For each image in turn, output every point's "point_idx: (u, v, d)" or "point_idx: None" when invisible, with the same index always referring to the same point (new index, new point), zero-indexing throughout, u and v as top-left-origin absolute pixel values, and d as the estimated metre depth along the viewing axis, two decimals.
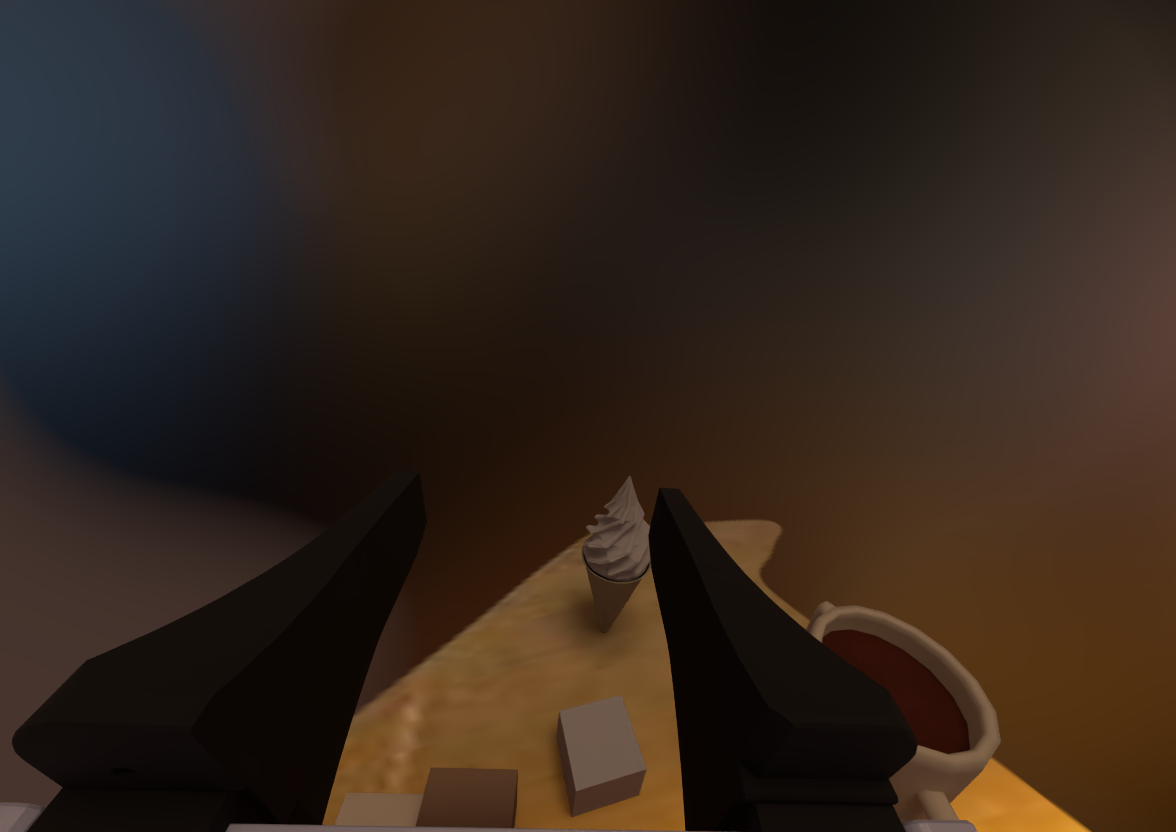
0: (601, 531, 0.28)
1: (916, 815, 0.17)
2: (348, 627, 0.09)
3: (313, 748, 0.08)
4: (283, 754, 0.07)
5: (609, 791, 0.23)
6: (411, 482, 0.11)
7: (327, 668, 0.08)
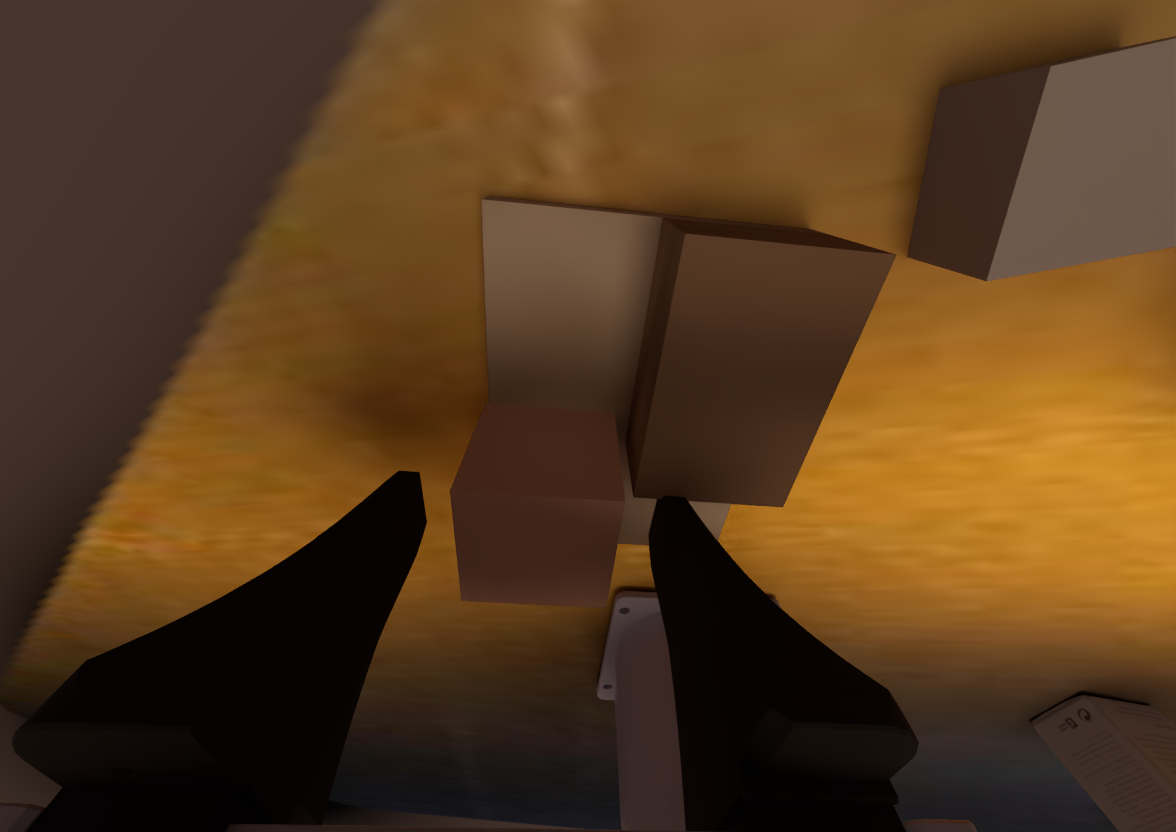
0: None
1: None
2: (348, 627, 0.09)
3: (313, 748, 0.08)
4: (283, 754, 0.07)
5: None
6: (411, 482, 0.11)
7: (327, 669, 0.08)
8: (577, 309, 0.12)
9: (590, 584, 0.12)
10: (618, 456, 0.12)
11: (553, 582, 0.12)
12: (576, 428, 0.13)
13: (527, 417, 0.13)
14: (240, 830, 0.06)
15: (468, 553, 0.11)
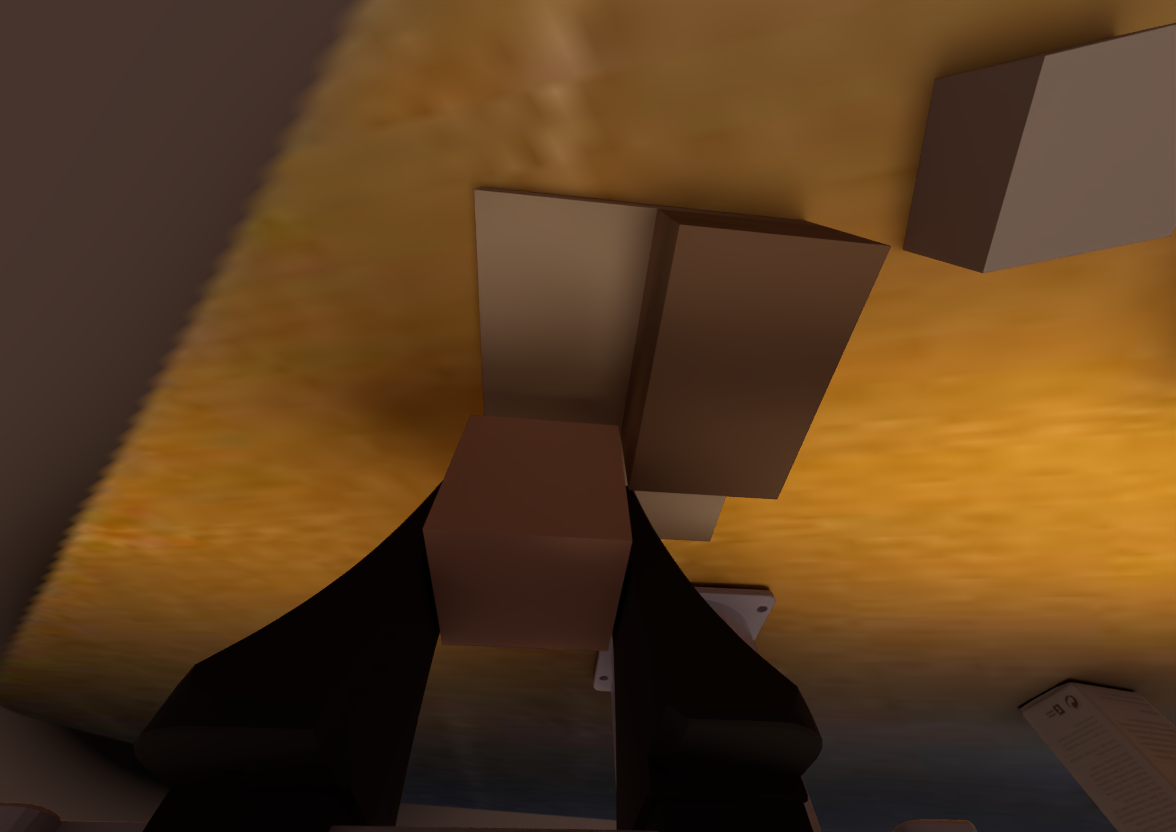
0: None
1: None
2: (417, 630, 0.09)
3: (391, 750, 0.08)
4: (372, 756, 0.07)
5: None
6: None
7: (402, 672, 0.08)
8: (571, 301, 0.12)
9: (590, 627, 0.10)
10: (623, 481, 0.10)
11: (547, 626, 0.10)
12: (574, 445, 0.11)
13: (517, 433, 0.11)
14: (341, 831, 0.06)
15: (447, 596, 0.09)
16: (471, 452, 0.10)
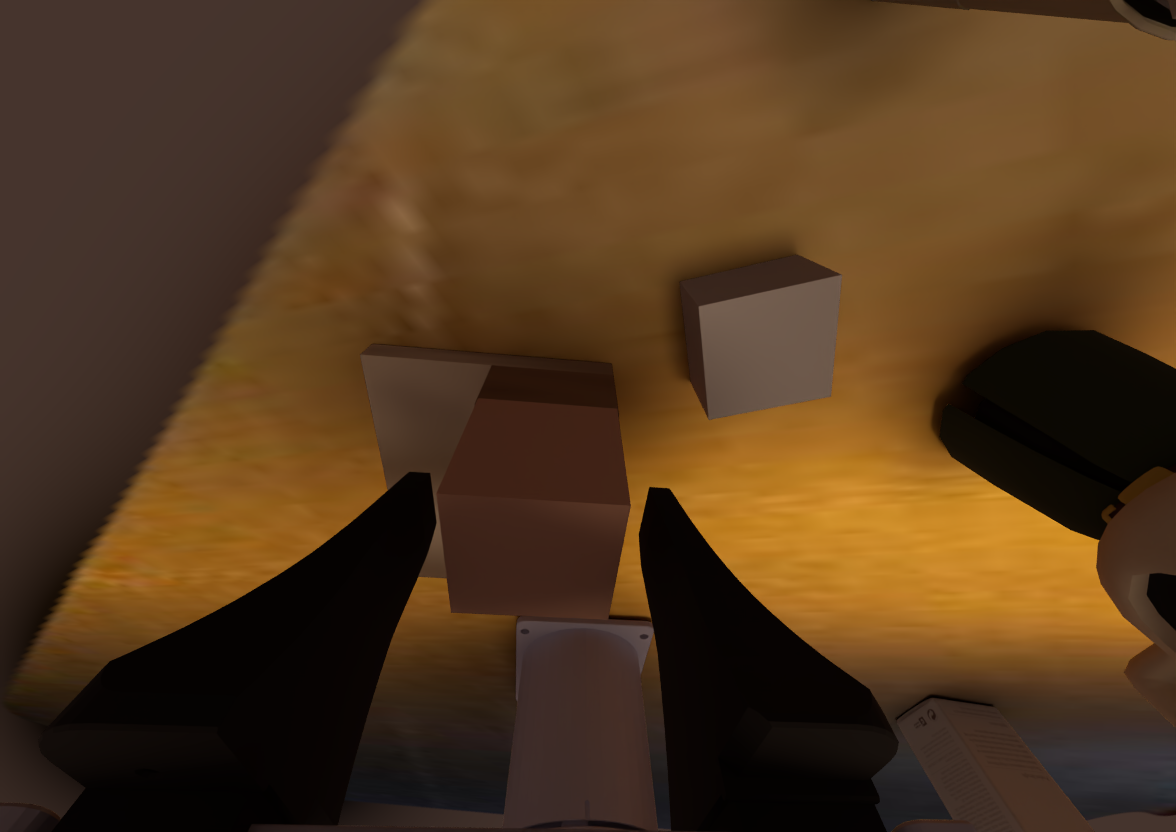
0: None
1: None
2: (363, 628, 0.09)
3: (330, 748, 0.08)
4: (302, 755, 0.07)
5: None
6: (422, 483, 0.11)
7: (343, 669, 0.08)
8: (441, 421, 0.16)
9: (591, 594, 0.11)
10: (622, 455, 0.11)
11: (551, 592, 0.11)
12: (576, 425, 0.12)
13: (522, 413, 0.12)
14: (262, 830, 0.06)
15: (457, 562, 0.10)
16: (479, 430, 0.11)
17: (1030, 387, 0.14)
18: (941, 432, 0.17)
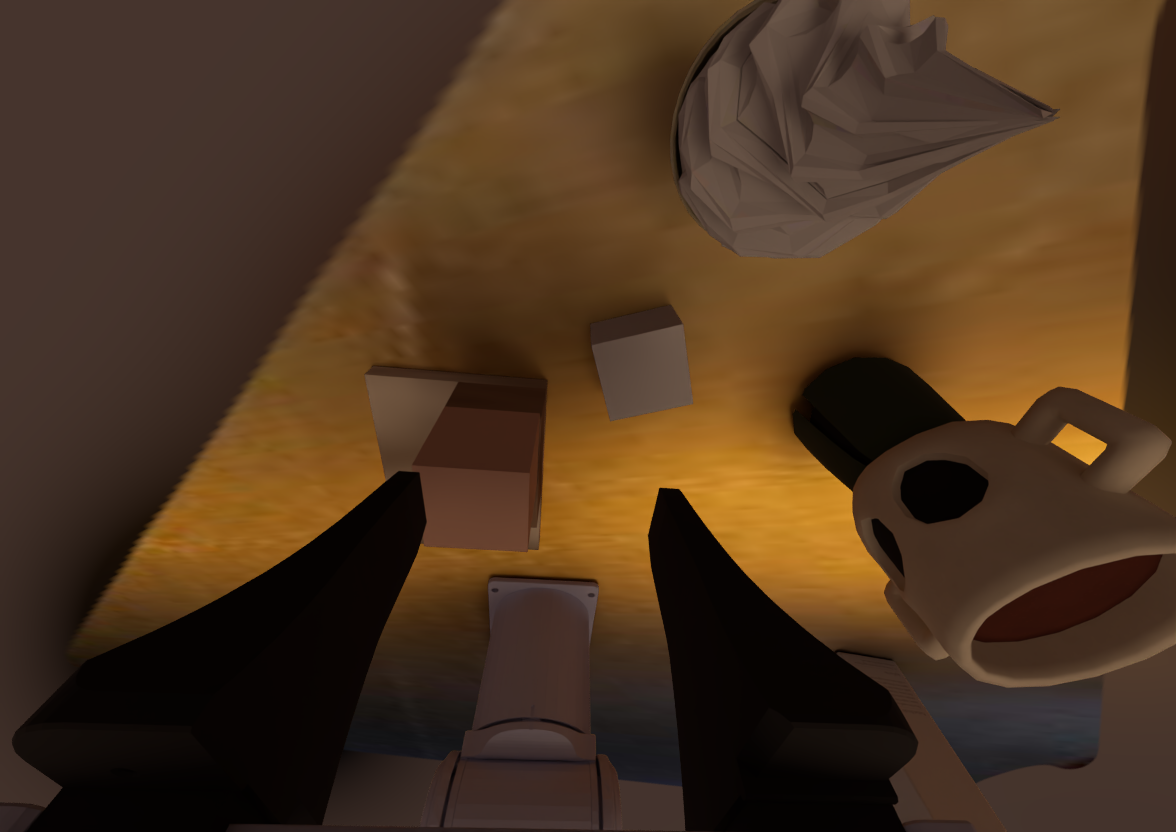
0: (748, 168, 0.08)
1: None
2: (348, 627, 0.09)
3: (313, 748, 0.08)
4: (283, 754, 0.07)
5: None
6: (411, 482, 0.11)
7: (327, 668, 0.08)
8: (423, 422, 0.22)
9: (514, 533, 0.17)
10: (533, 444, 0.17)
11: (488, 532, 0.17)
12: (508, 424, 0.18)
13: (473, 417, 0.18)
14: (240, 830, 0.06)
15: (427, 510, 0.16)
16: (442, 427, 0.17)
17: (834, 398, 0.20)
18: (794, 430, 0.23)
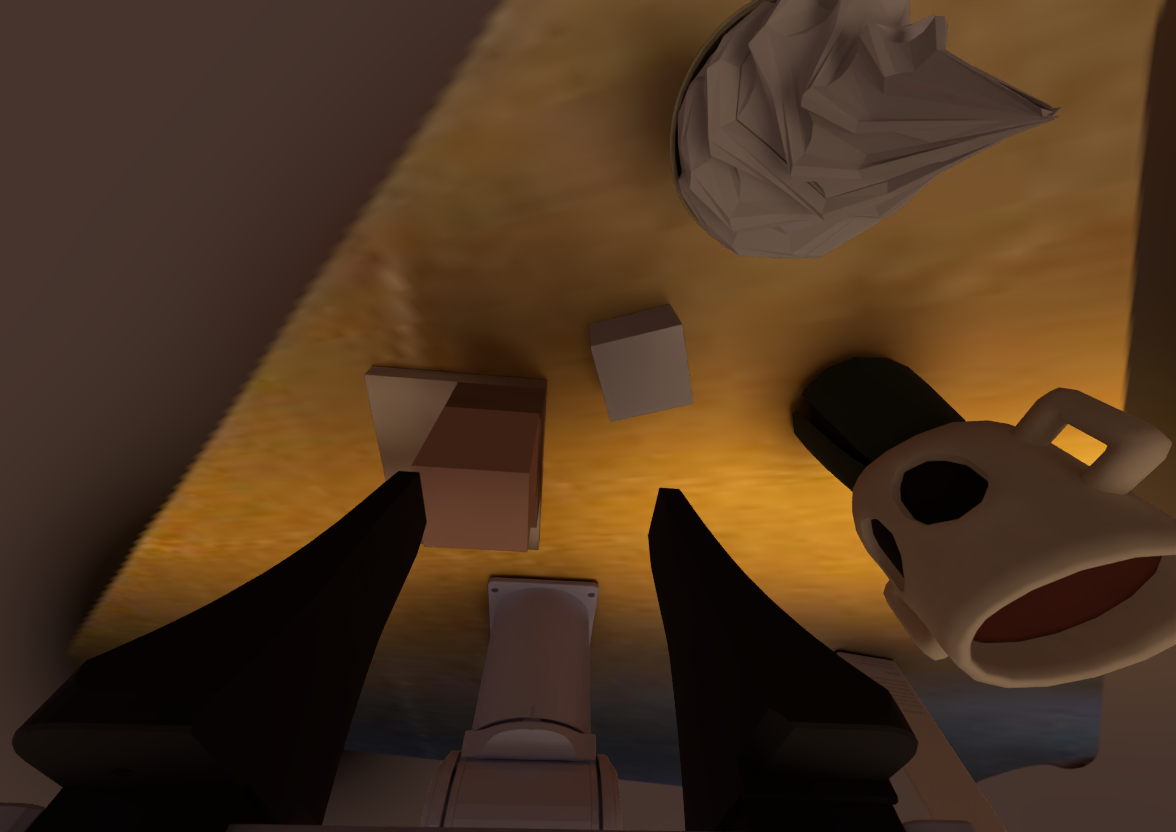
0: (747, 168, 0.08)
1: None
2: (348, 627, 0.09)
3: (313, 748, 0.08)
4: (283, 754, 0.07)
5: None
6: (411, 482, 0.11)
7: (327, 668, 0.08)
8: (423, 422, 0.22)
9: (513, 533, 0.17)
10: (533, 444, 0.17)
11: (487, 532, 0.17)
12: (507, 424, 0.18)
13: (473, 417, 0.18)
14: (240, 830, 0.06)
15: (426, 510, 0.16)
16: (442, 427, 0.17)
17: (834, 398, 0.20)
18: (794, 430, 0.23)
